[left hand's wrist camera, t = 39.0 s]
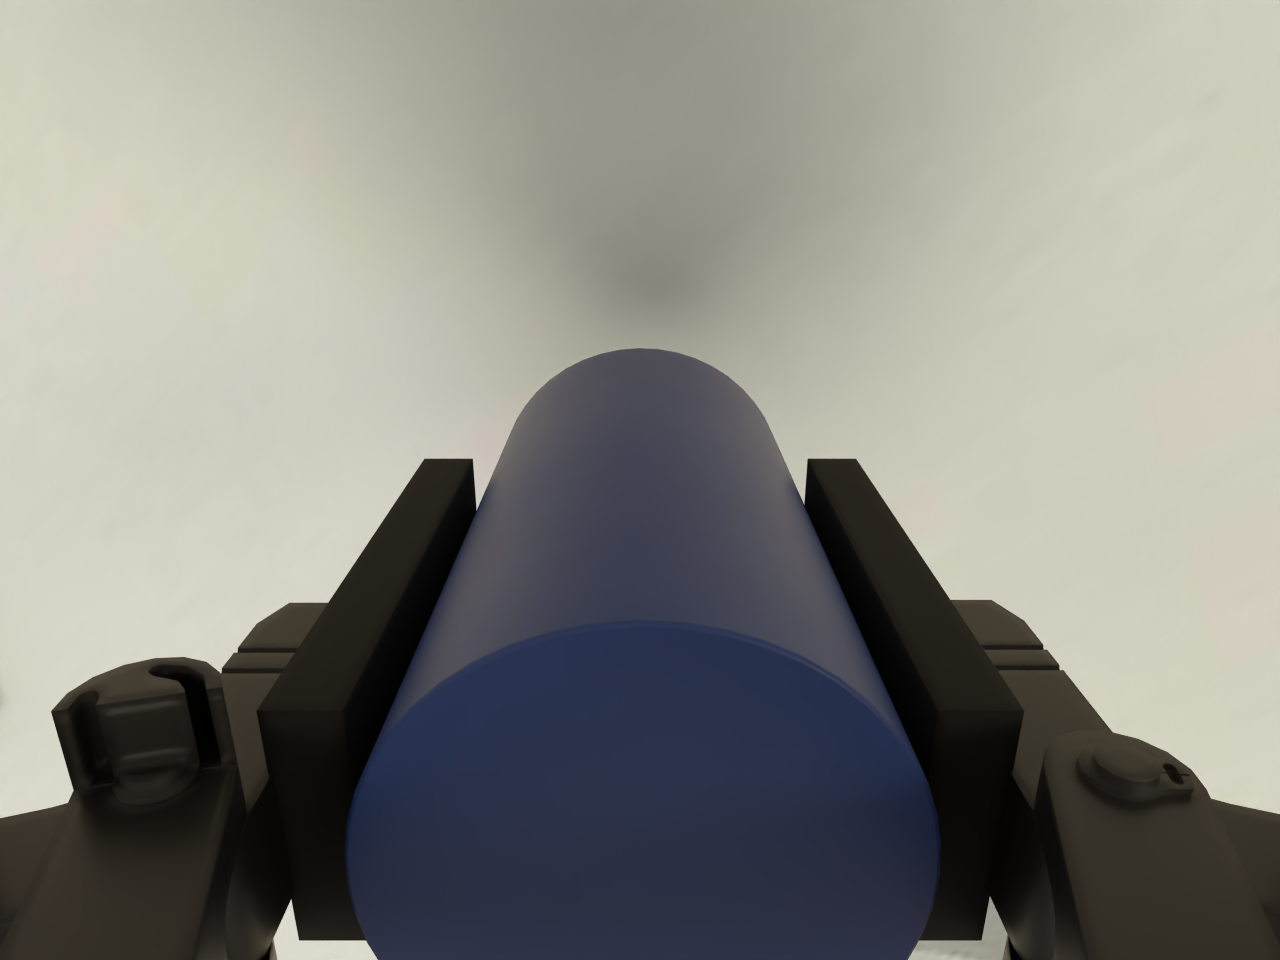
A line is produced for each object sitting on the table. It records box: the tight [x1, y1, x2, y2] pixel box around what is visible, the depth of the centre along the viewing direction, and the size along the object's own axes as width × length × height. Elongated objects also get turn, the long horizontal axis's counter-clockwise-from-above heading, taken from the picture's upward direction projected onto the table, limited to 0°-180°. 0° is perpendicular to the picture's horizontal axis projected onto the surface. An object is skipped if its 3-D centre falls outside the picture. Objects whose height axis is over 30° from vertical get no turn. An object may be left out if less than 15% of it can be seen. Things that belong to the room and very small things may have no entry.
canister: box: [344, 348, 941, 960], centre depth 12 cm, size 5×5×10 cm
